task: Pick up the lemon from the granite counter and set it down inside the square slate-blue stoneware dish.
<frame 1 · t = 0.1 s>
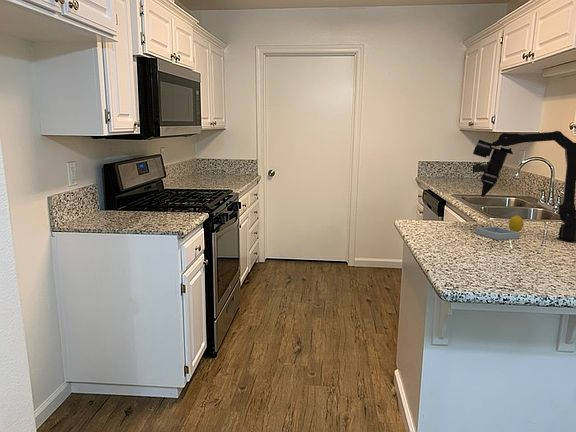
hand: (483, 195, 197), 15 cm above the countertop, tool pointing down, fingers open, 9 cm apart
lemon: (514, 233, 194), on the countertop
dish: (496, 236, 187), on the countertop
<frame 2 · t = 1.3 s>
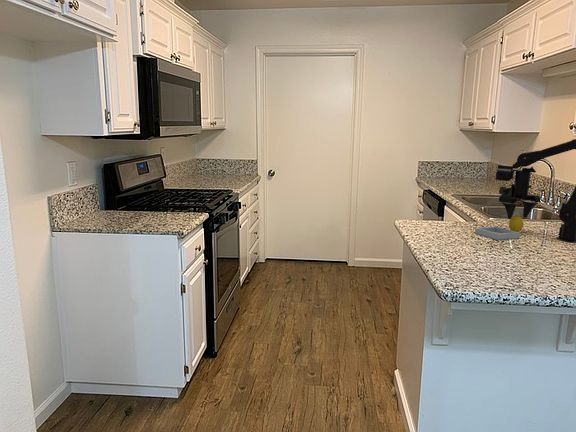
hand: (517, 218, 193), 7 cm above the countertop, tool pointing down, fingers open, 9 cm apart
nothing on the countertop moved.
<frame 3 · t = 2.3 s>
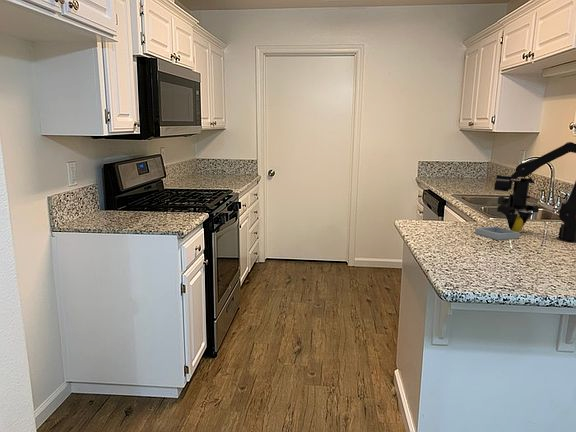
hand: (515, 228, 194), 2 cm above the countertop, tool pointing down, fingers closed on lemon, 5 cm apart
lemon: (514, 233, 194), on the countertop, touching gripper
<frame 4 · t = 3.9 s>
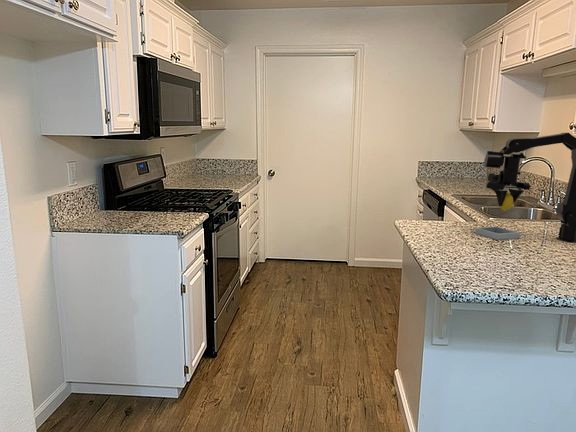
hand: (505, 206, 188), 12 cm above the countertop, tool pointing down, fingers closed on lemon, 5 cm apart
lemon: (504, 211, 188), point 10 cm above the countertop, touching gripper
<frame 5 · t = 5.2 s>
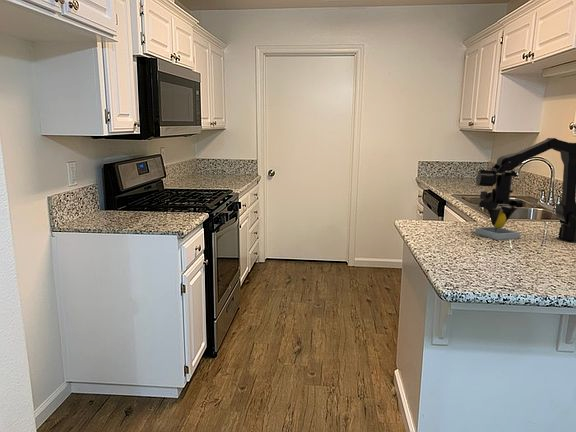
hand: (498, 224, 186), 5 cm above the countertop, tool pointing down, fingers closed on lemon, 5 cm apart
lemon: (497, 229, 187), point 3 cm above the countertop, touching gripper
when the fingers open (5 cm above the countertop, at t = 5.6 s): lemon drops 2 cm, resting on dish.
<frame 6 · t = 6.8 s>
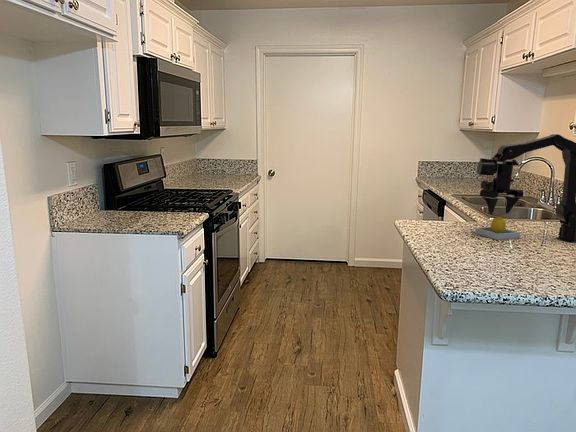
hand: (498, 213, 186), 10 cm above the countertop, tool pointing down, fingers open, 9 cm apart
lemon: (497, 235, 187), resting on dish
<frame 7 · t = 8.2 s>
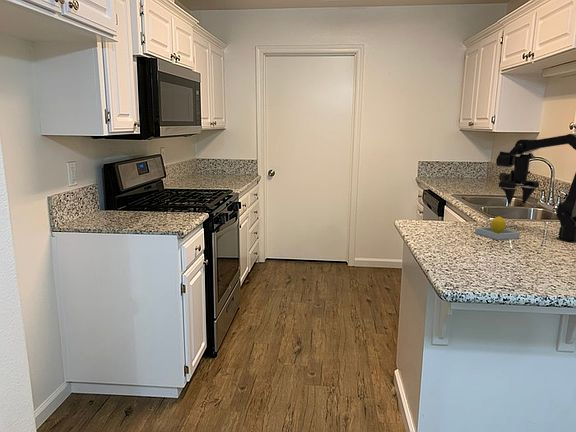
hand: (516, 203, 200), 12 cm above the countertop, tool pointing down, fingers open, 9 cm apart
nothing on the countertop moved.
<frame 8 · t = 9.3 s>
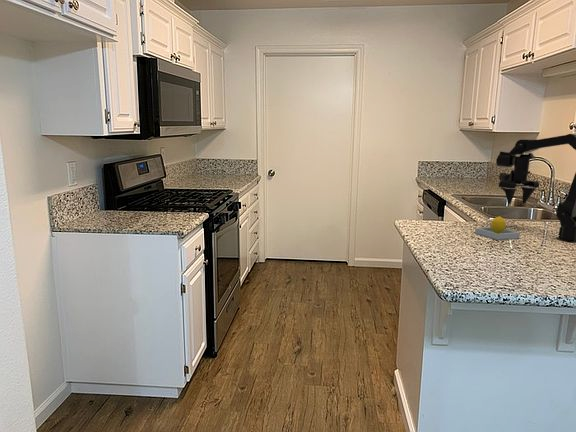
hand: (516, 203, 200), 12 cm above the countertop, tool pointing down, fingers open, 9 cm apart
nothing on the countertop moved.
at the end: lemon inside the target area on the dish (0.2 cm from its centre), point 0.3 cm above the dish's base; the gripper is holding nothing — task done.
